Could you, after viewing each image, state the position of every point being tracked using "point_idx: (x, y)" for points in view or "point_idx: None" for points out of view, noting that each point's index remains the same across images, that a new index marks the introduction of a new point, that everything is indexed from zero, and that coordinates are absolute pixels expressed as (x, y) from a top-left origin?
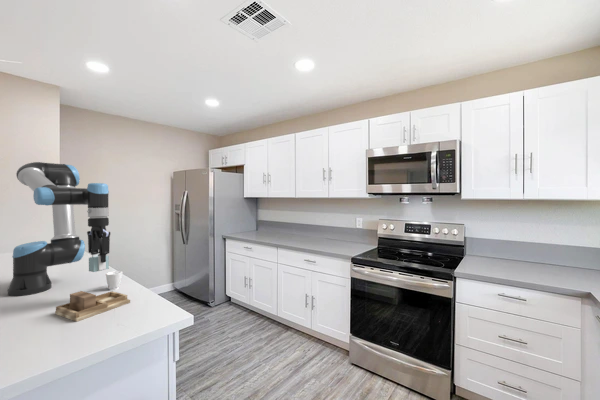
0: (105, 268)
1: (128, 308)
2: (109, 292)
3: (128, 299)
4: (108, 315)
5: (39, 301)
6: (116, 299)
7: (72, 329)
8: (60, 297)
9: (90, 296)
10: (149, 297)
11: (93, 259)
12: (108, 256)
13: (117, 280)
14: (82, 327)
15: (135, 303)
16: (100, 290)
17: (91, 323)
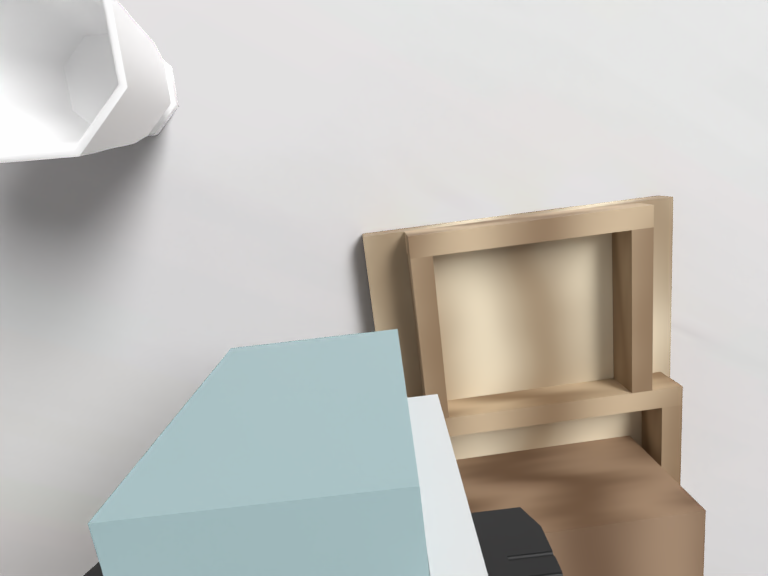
0: (437, 405)
1: (756, 263)
2: (428, 267)
3: (650, 201)
4: (740, 395)
5: (20, 565)
6: (649, 302)
7: (737, 571)
8: (31, 460)
9: (703, 547)
10: (700, 24)
11: None
12: (416, 473)
13: (150, 64)
14: (762, 536)
15: (714, 180)
16: (83, 197)
17: (757, 493)
